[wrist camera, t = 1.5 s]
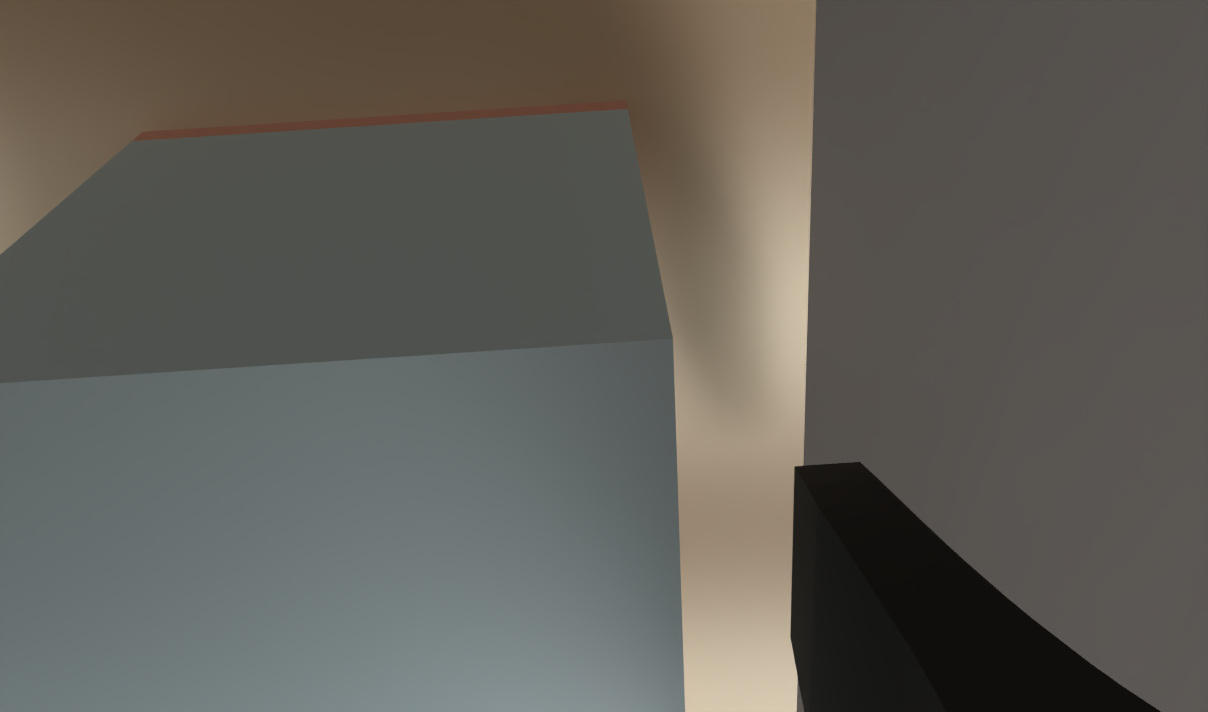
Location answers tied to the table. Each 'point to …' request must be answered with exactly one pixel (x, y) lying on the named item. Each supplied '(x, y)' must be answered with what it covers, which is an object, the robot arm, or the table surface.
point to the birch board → (509, 80)
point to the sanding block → (344, 424)
